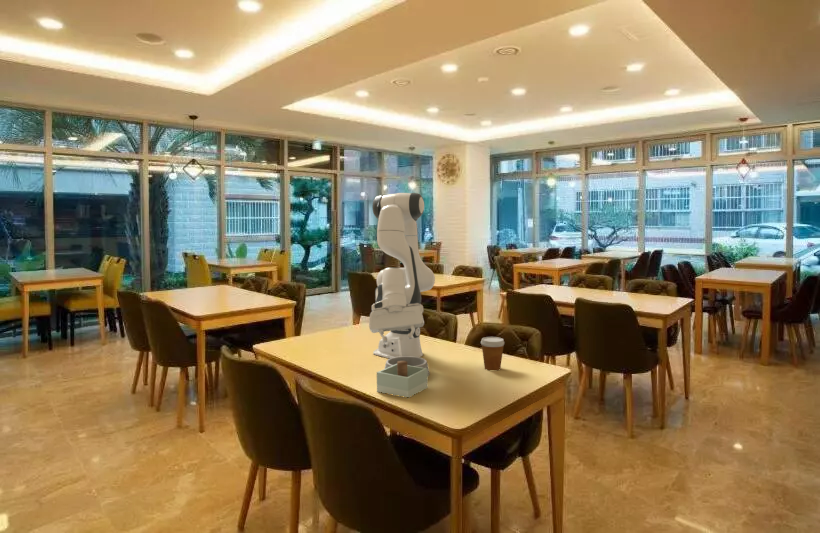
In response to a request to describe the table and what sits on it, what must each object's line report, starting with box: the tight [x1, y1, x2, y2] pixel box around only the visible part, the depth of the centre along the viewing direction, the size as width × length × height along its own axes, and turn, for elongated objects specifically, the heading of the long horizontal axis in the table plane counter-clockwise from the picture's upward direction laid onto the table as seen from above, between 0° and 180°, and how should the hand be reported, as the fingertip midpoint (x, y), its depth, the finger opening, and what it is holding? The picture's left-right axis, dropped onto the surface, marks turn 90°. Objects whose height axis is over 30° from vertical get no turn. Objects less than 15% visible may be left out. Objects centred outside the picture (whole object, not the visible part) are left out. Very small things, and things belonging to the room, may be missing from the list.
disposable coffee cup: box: [480, 336, 506, 371], centre depth 210 cm, size 10×10×12 cm
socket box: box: [376, 364, 429, 398], centre depth 186 cm, size 13×13×7 cm
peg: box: [397, 361, 408, 377], centre depth 186 cm, size 4×4×10 cm
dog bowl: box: [384, 356, 431, 377], centre depth 205 cm, size 17×18×5 cm
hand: (397, 340), depth 190 cm, fingers open, 8 cm apart
